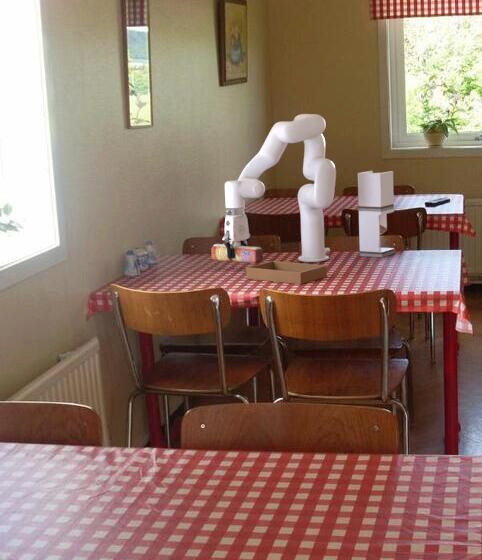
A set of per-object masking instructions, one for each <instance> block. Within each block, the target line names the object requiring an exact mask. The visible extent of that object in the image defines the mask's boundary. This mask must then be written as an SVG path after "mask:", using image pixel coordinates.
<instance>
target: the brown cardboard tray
mask: <svg viewBox="0 0 482 560" xmlns="http://www.w3.org/2000/svg"><path fill="white" fill-rule="evenodd" d="M327 272H328V271H327V265H325V264H313V263H301V262H291V261H281V260H270V261H267V262H263V263H262V262H261V263H257V264H254V265H250V266H246V267H245V275H246V276H245V277H246V279H247V280H255V281H265V282H274V283H284V284H294V285H303V284H307V283H310V282H314V281H318V280H321V279H324V278H327V277H328V273H327Z"/></svg>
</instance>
